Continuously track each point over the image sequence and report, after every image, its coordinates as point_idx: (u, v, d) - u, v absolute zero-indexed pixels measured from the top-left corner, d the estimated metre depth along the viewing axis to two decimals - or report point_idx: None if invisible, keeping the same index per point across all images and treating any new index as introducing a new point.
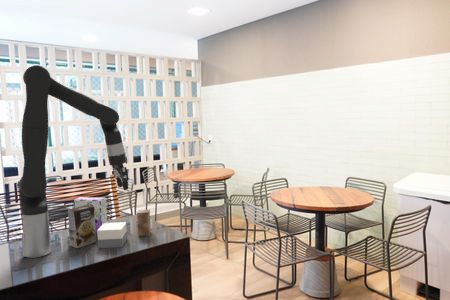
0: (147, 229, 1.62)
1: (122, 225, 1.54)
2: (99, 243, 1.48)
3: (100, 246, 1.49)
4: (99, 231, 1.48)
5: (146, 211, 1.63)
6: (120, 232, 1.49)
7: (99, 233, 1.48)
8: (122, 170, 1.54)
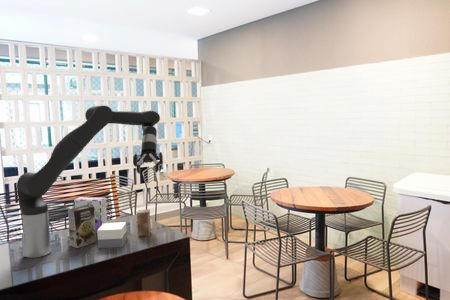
0: (147, 229, 1.62)
1: (122, 225, 1.54)
2: (99, 243, 1.49)
3: (100, 246, 1.49)
4: (99, 231, 1.48)
5: (146, 211, 1.63)
6: (120, 232, 1.49)
7: (99, 233, 1.48)
8: (161, 154, 1.77)
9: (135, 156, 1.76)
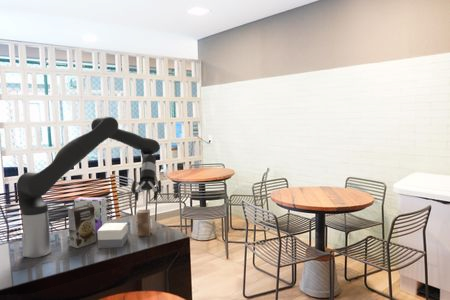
0: (147, 229, 1.62)
1: (122, 226, 1.54)
2: (99, 243, 1.49)
3: (100, 246, 1.49)
4: (99, 231, 1.48)
5: (146, 211, 1.63)
6: (120, 233, 1.48)
7: (99, 233, 1.48)
8: (160, 182, 1.79)
9: (134, 183, 1.77)
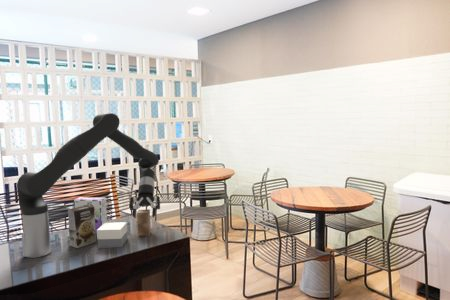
0: (147, 229, 1.62)
1: (122, 225, 1.54)
2: (99, 243, 1.49)
3: (100, 246, 1.49)
4: (98, 230, 1.49)
5: (146, 211, 1.63)
6: (119, 232, 1.49)
7: (98, 232, 1.49)
8: (159, 198, 1.71)
9: (131, 199, 1.70)
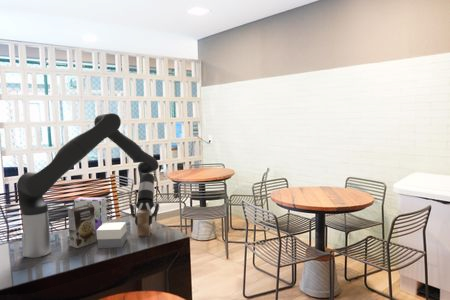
0: (147, 229, 1.62)
1: (121, 225, 1.54)
2: (99, 243, 1.49)
3: (100, 246, 1.49)
4: (98, 231, 1.48)
5: (146, 211, 1.63)
6: (119, 232, 1.49)
7: (98, 232, 1.48)
8: (158, 206, 1.68)
9: (131, 207, 1.67)
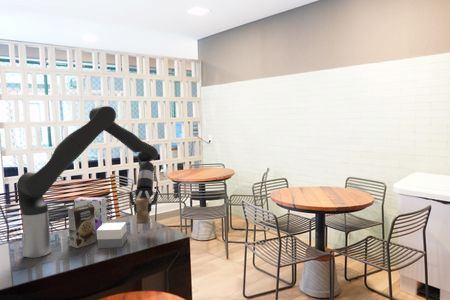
0: (146, 217, 1.61)
1: (122, 225, 1.54)
2: (99, 243, 1.48)
3: (100, 246, 1.49)
4: (98, 231, 1.48)
5: (145, 199, 1.62)
6: (119, 232, 1.49)
7: (98, 232, 1.48)
8: (158, 194, 1.67)
9: (131, 194, 1.66)
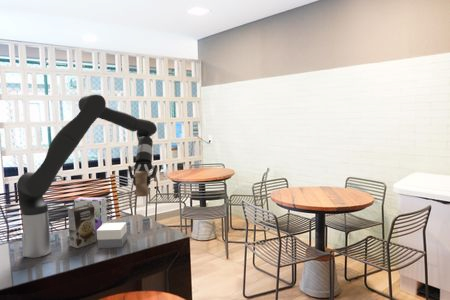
0: (145, 189, 1.60)
1: (122, 225, 1.54)
2: (99, 243, 1.48)
3: (100, 246, 1.49)
4: (98, 231, 1.48)
5: (144, 171, 1.61)
6: (119, 232, 1.48)
7: (98, 233, 1.48)
8: (157, 167, 1.66)
9: (129, 168, 1.65)
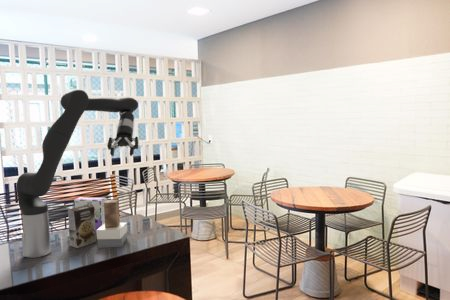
0: (115, 220, 1.51)
1: (122, 225, 1.54)
2: (99, 243, 1.49)
3: (100, 246, 1.49)
4: (98, 230, 1.49)
5: (114, 201, 1.52)
6: (118, 232, 1.49)
7: (98, 232, 1.49)
8: (137, 138, 1.73)
9: (110, 139, 1.71)
